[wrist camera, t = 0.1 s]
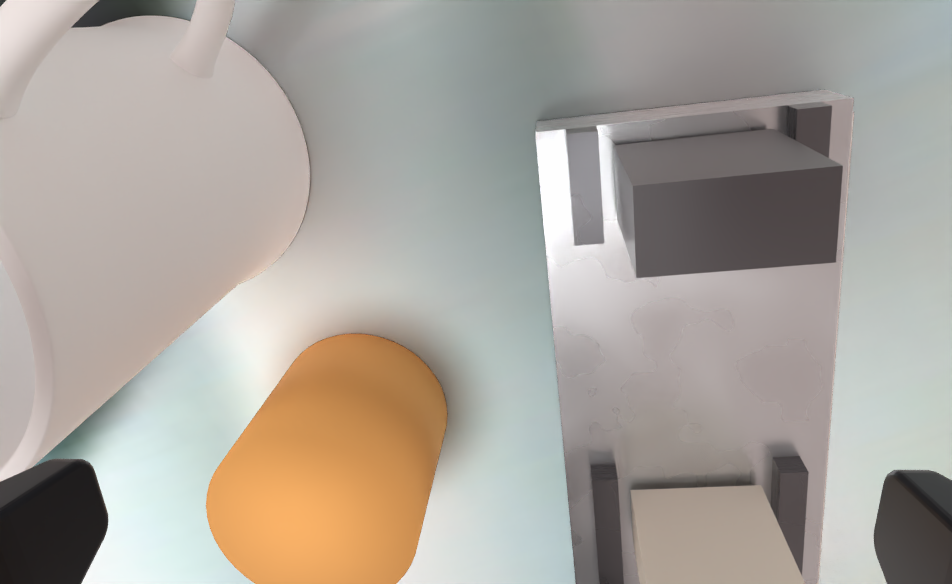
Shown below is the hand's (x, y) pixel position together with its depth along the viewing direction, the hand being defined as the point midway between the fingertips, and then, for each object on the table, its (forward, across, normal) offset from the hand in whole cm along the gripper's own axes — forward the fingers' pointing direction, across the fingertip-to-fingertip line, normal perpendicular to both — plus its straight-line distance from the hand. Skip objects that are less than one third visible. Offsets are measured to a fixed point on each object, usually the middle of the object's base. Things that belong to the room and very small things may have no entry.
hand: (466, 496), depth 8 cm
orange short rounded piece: (+14, +6, +8) cm, 17 cm away
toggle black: (+12, -5, -1) cm, 13 cm away
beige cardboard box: (+12, -6, +10) cm, 17 cm away
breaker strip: (+14, -5, +7) cm, 17 cm away
